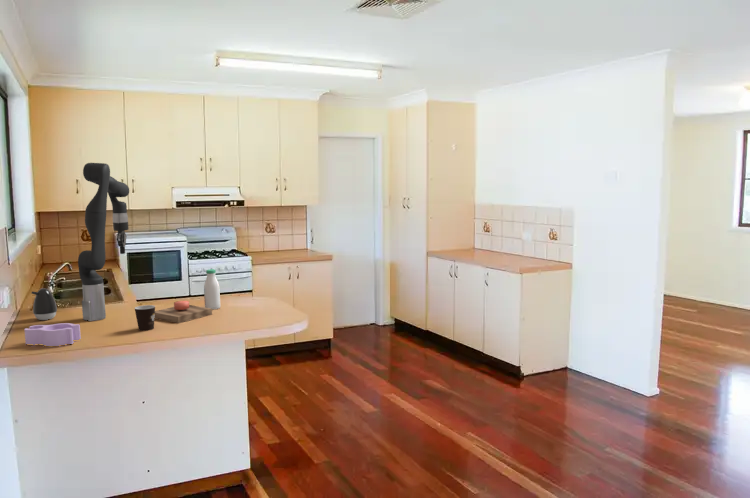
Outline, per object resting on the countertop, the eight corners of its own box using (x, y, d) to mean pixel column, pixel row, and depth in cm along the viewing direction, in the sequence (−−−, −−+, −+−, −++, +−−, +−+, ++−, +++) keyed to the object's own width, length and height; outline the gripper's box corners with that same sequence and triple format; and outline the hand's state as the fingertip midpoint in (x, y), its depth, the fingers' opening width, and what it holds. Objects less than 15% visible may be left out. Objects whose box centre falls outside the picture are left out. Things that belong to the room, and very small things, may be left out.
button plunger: (180, 310, 292) (180, 304, 292) (171, 308, 296) (170, 302, 295) (192, 307, 298) (191, 301, 297) (182, 306, 302) (182, 300, 301)
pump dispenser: (30, 319, 296) (27, 288, 294) (53, 315, 303) (50, 285, 301) (37, 322, 289) (35, 291, 287) (61, 318, 296) (58, 288, 295)
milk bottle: (223, 307, 315) (221, 269, 313) (212, 310, 309) (210, 271, 306) (213, 306, 320) (211, 268, 317) (201, 308, 313) (199, 270, 311)
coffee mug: (144, 332, 268) (142, 310, 267) (131, 330, 272) (130, 308, 271) (166, 326, 278) (164, 305, 276) (153, 324, 282) (152, 303, 281)
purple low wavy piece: (20, 348, 247) (18, 331, 246) (36, 339, 259) (34, 323, 259) (70, 347, 248) (68, 330, 247) (83, 338, 260) (82, 322, 259)
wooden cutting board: (178, 323, 283) (178, 316, 283) (151, 318, 295) (151, 311, 294) (212, 314, 300) (211, 308, 300) (185, 310, 311) (185, 304, 311)
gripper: (115, 220, 331) (118, 252, 333) (110, 222, 318) (112, 255, 320) (130, 220, 333) (132, 251, 335) (125, 222, 320) (127, 255, 322)
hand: (122, 253), depth 327 cm, fingers closed
